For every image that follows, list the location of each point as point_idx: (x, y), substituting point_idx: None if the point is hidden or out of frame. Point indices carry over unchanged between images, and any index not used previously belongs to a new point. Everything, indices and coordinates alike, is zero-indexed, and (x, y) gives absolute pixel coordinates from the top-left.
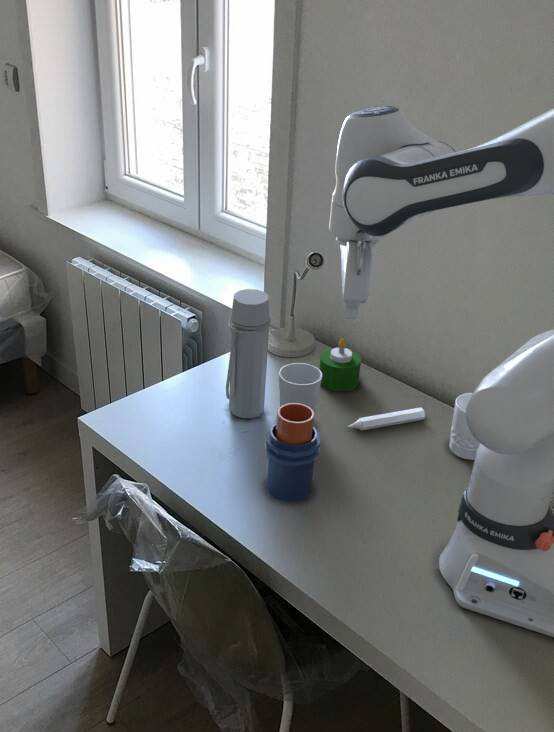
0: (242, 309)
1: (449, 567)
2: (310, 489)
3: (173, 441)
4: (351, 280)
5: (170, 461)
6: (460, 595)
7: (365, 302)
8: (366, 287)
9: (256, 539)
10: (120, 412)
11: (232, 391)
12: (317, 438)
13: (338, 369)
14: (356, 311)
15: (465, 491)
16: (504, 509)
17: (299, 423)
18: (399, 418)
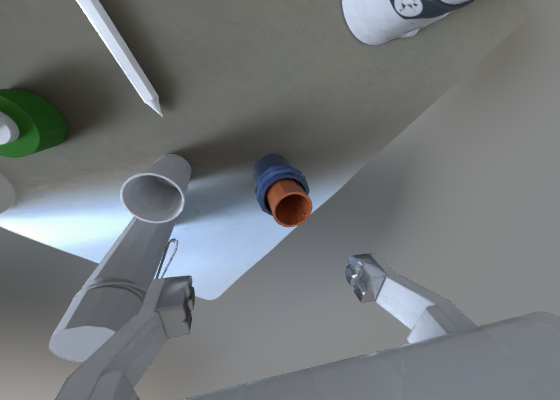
0: None
1: (392, 37)
2: (279, 156)
3: (224, 254)
4: None
5: (249, 251)
6: (411, 33)
7: (550, 314)
8: None
9: (328, 189)
10: (194, 291)
11: (168, 242)
12: (282, 172)
13: (40, 130)
14: (391, 270)
15: (437, 2)
16: None
17: (311, 204)
18: (118, 38)
